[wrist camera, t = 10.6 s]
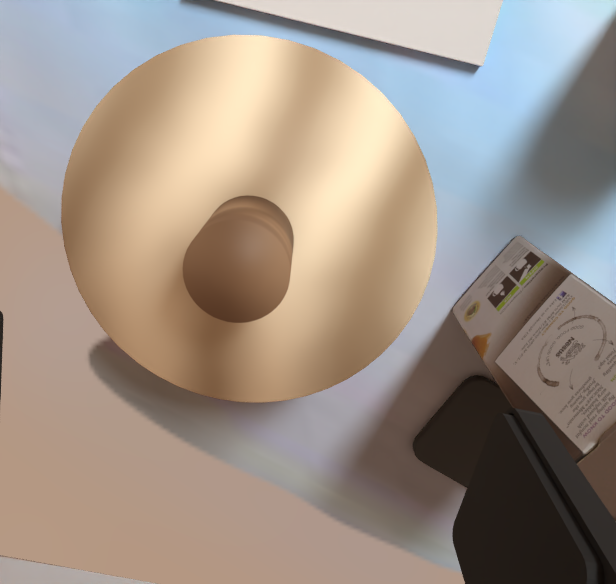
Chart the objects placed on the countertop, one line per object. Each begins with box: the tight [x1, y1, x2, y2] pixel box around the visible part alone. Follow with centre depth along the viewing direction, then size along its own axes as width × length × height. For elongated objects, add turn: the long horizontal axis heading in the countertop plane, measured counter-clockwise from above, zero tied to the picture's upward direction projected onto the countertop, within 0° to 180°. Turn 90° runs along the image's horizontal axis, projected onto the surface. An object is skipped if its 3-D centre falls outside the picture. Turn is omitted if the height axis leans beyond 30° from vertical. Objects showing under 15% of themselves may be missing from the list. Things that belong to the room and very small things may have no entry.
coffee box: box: [453, 236, 616, 521], centre depth 28 cm, size 9×6×16 cm
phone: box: [413, 376, 513, 488], centre depth 39 cm, size 7×1×15 cm
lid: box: [61, 35, 437, 403], centre depth 24 cm, size 17×17×6 cm
